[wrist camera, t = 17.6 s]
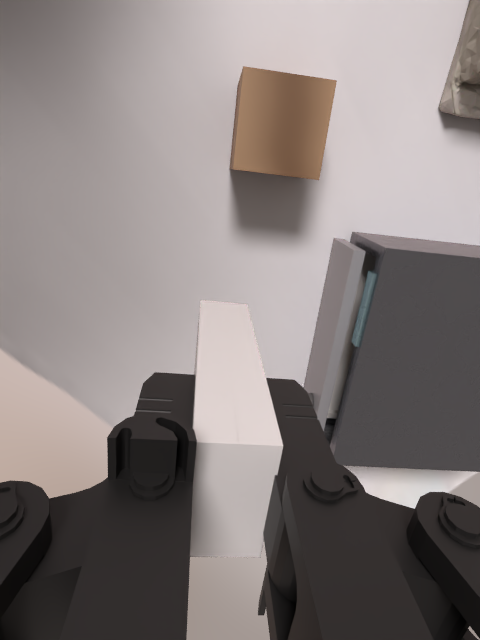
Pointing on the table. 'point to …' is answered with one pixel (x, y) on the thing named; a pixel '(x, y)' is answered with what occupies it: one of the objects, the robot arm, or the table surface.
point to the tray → (336, 327)
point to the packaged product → (465, 70)
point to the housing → (413, 360)
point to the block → (281, 123)
